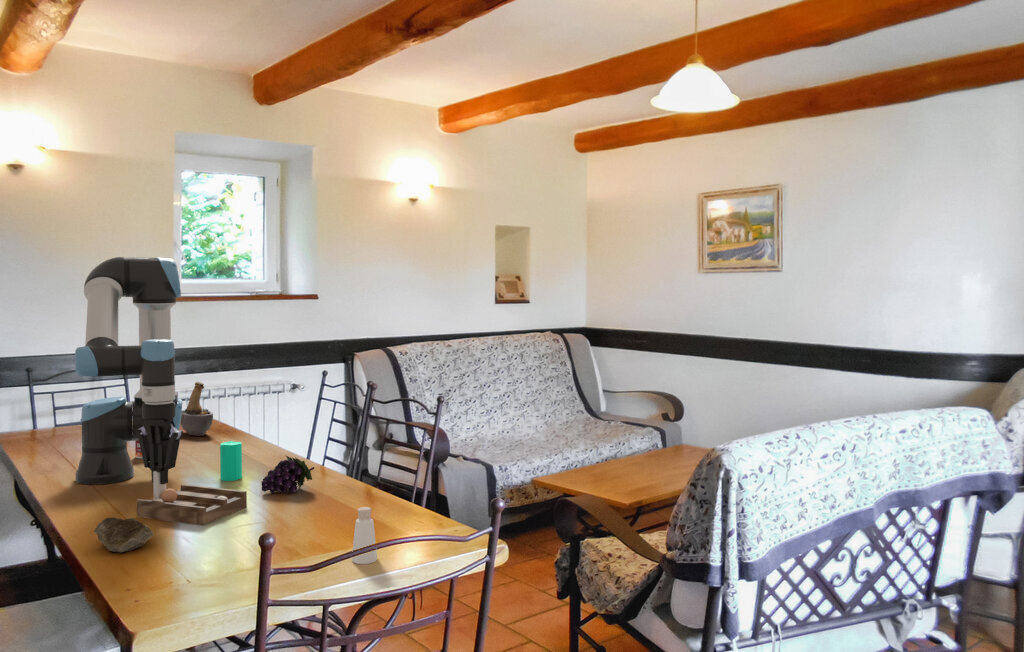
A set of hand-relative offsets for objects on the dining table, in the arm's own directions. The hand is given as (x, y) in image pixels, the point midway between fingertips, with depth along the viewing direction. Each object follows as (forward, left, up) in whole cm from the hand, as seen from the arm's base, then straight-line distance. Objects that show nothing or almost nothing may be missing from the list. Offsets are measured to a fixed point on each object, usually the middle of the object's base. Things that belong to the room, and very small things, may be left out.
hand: (160, 496), depth 192 cm
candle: (-7, +35, -5) cm, 36 cm away
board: (+6, +4, -5) cm, 9 cm away
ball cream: (+12, +8, -3) cm, 15 cm away
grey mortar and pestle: (-62, +84, -5) cm, 105 cm away
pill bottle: (-51, +48, -5) cm, 70 cm away
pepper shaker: (+63, -11, -5) cm, 64 cm away
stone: (+10, -21, -5) cm, 24 cm away
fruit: (+17, +29, -5) cm, 34 cm away
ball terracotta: (+3, 0, 0) cm, 3 cm away
